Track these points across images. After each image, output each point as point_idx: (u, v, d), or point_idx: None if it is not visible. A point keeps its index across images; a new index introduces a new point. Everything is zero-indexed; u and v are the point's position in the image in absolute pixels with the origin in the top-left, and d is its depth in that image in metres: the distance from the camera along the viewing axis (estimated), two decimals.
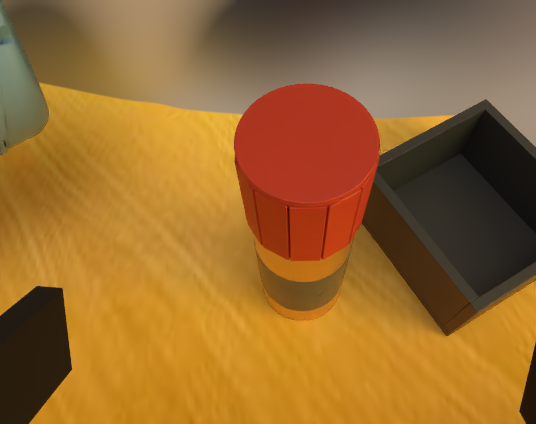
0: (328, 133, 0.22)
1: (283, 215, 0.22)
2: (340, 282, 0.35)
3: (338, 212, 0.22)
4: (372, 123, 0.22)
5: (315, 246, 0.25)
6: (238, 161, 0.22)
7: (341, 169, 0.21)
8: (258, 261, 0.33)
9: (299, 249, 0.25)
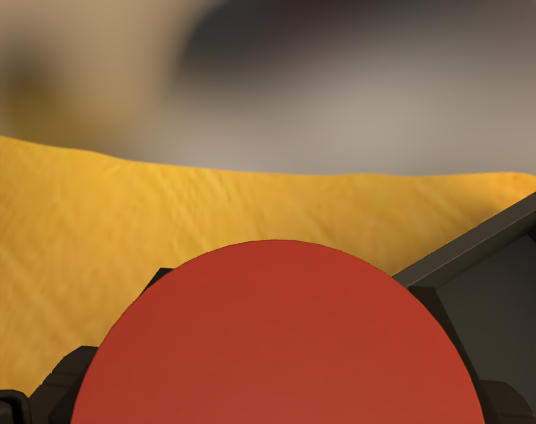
0: (337, 412, 0.08)
1: None
2: None
3: None
4: (461, 380, 0.08)
5: None
6: None
7: None
8: None
9: None
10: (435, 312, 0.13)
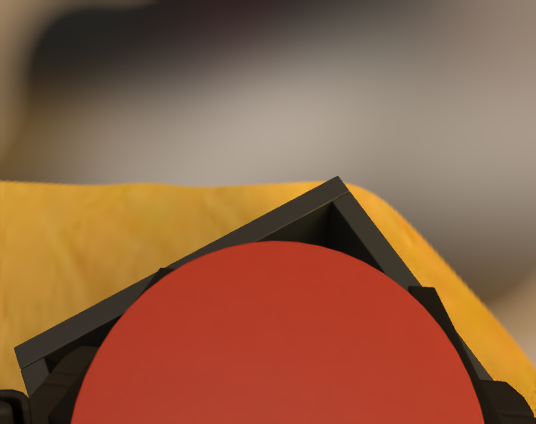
0: (337, 414, 0.08)
1: None
2: None
3: None
4: (462, 382, 0.08)
5: None
6: None
7: None
8: None
9: None
10: (435, 312, 0.13)
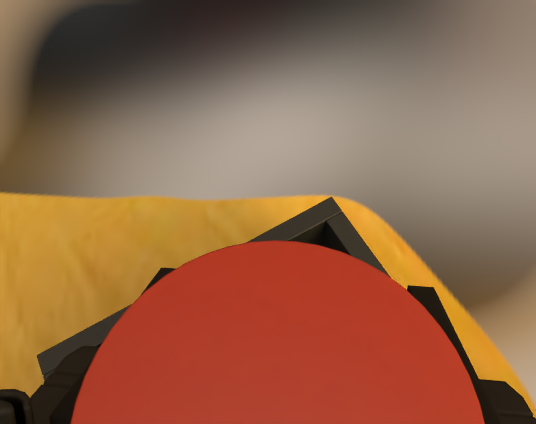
0: (337, 413, 0.08)
1: None
2: None
3: None
4: (461, 382, 0.08)
5: None
6: None
7: None
8: None
9: None
10: (434, 312, 0.13)
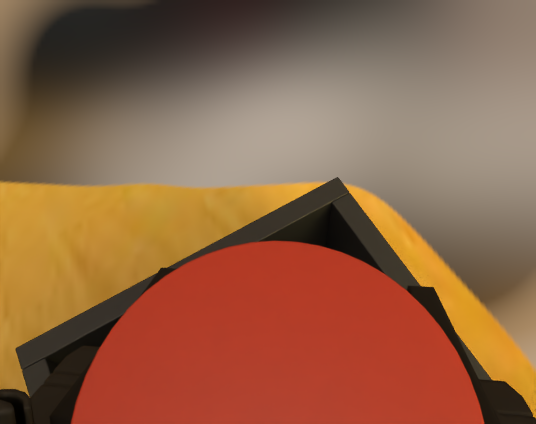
0: (337, 413, 0.08)
1: None
2: None
3: None
4: (462, 382, 0.08)
5: None
6: None
7: None
8: None
9: None
10: (434, 312, 0.13)
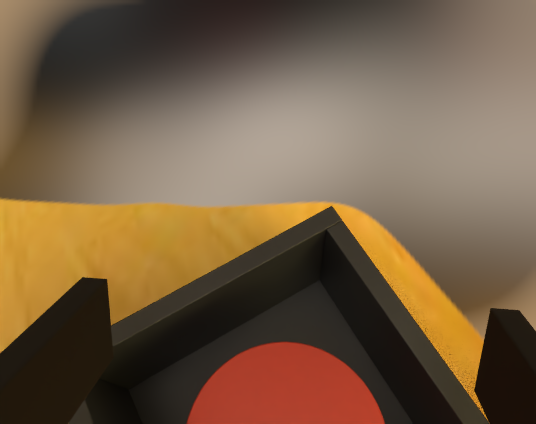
0: None
1: None
2: None
3: None
4: (379, 422, 0.16)
5: None
6: None
7: None
8: None
9: None
10: (530, 339, 0.12)
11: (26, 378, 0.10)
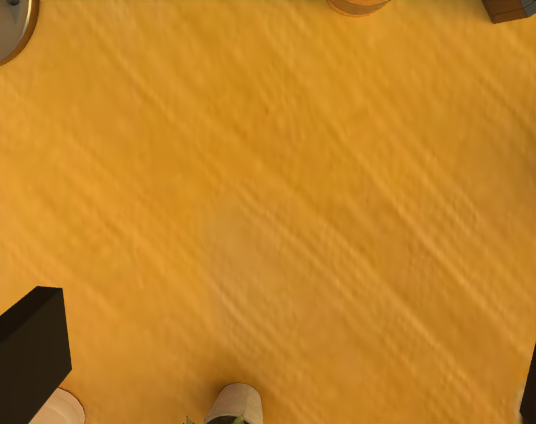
0: None
1: None
2: None
3: None
4: None
5: None
6: None
7: None
8: None
9: None
10: None
11: None
